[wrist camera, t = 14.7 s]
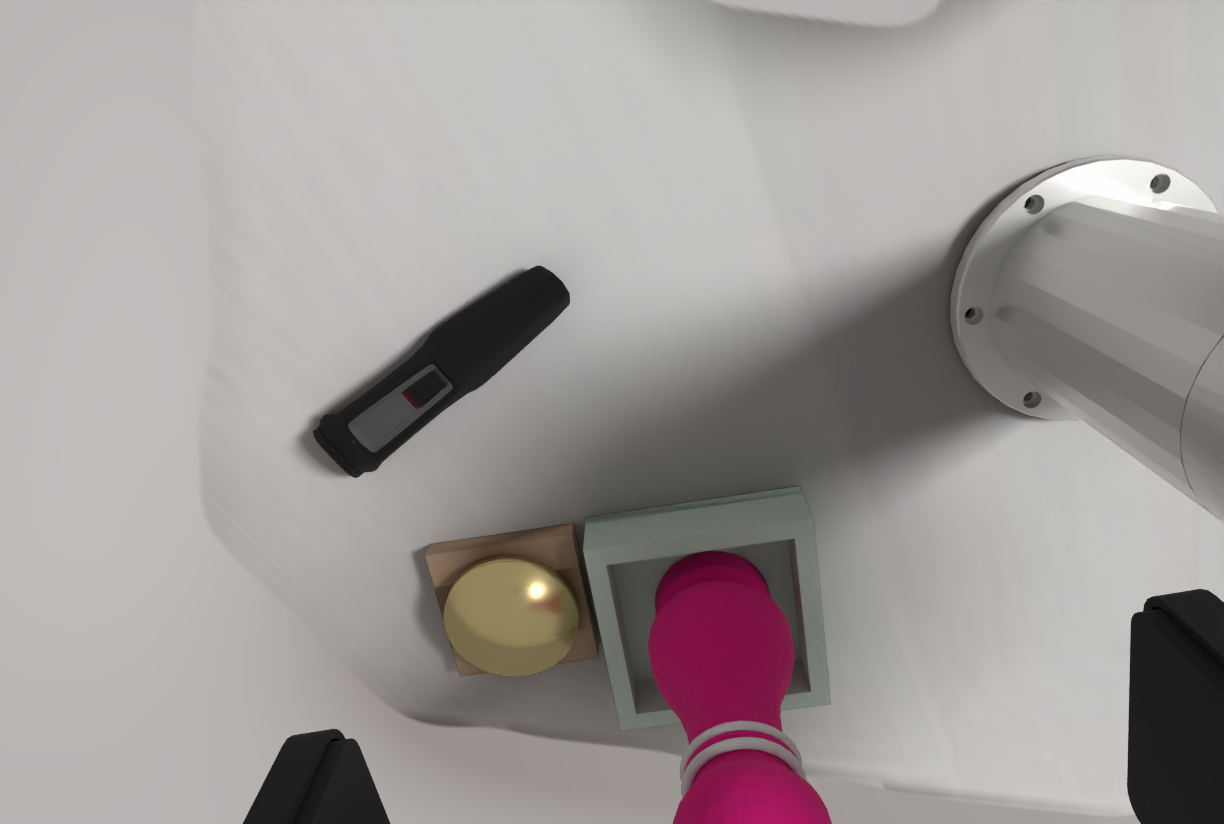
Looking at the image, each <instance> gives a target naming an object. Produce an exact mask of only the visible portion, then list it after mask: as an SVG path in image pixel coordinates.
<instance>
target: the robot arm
mask: <svg viewBox="0 0 1224 824" xmlns="http://www.w3.org/2000/svg"><path fill="white" fill-rule="evenodd" d="M1152 179H1153V183H1152V184H1151V186H1150V183H1151V180H1152ZM1028 198H1030V204H1029V205H1028V206H1027V207H1024V205H1025V202H1026V200H1027V199H1028ZM969 308H971V309H972V310H971V313H970V314H969V315H967V316H965V313H966V311H967V310H968V309H969ZM950 321H951V327H952V332H953V338H954V343H955V345H956V347H957V350H958V352H959V355H960V357H961V359H962V362H963V364H964V365H965V366H966V368H967V369H968V371H969V372H970V373H971V375H972V376H973V378H974V379H975V380H976V381H977V382H978V383H979V384H980V385H981V386H982V387H983V388H984V389H985V390H987V391H988V392H989V393H990V394H991V395H993V396H994V397H995V398H997V399H998V400H1000V401H1001V402H1002V403H1004V404H1005V405H1007V406H1008V407H1010V408H1013V409H1015V410H1017V411H1019V412H1021V413H1024V414H1026V415H1030V416H1035V417H1040V418H1044V419H1049V420H1083V421H1084V422H1086V423H1087V424H1088V425H1090V426H1091V427H1092V428H1094V429H1095V430H1096V431H1098V432H1099V433H1101V434H1102V435H1103V436H1105V437H1106V438H1107V439H1109V440H1110V441H1112V442H1113V443H1114V444H1116V445H1117V446H1118V447H1120V448H1121V449H1123V450H1124V451H1125V452H1127V453H1128V454H1129V455H1131V456H1132V457H1134V458H1135V459H1136V460H1138V461H1139V462H1140V463H1142V464H1143V465H1145V466H1146V467H1147V468H1149V469H1150V470H1151V471H1153V472H1154V473H1155V474H1157V475H1158V476H1160V477H1161V478H1162V479H1164V480H1165V481H1166V482H1168V483H1169V484H1171V485H1172V486H1173V487H1175V488H1176V489H1177V490H1179V491H1180V492H1182V493H1183V494H1184V495H1186V496H1187V497H1188V498H1190V499H1191V500H1193V501H1194V502H1195V503H1197V504H1198V505H1199V506H1201V507H1202V508H1203V509H1205V510H1206V511H1208V512H1209V513H1210V514H1212V515H1213V516H1214V517H1216V518H1217V519H1218V520H1220V521H1221V522H1223V523H1224V214H1220V213H1219V211H1218V209H1217V207H1216V205H1215V204H1214V202H1213V200H1212V199H1211V198H1210V197H1209V196H1208V195H1207V193H1206V192H1205V191H1204V190H1203V189H1202V188H1201V187H1200V186H1199V185H1198V184H1197V183H1196V182H1195V181H1193V180H1192V179H1190V178H1189V177H1187V176H1186V175H1184V174H1183V173H1181V172H1179V171H1178V170H1176V169H1175V168H1172V167H1169V166H1166V165H1163V164H1161V163H1158V162H1155V161H1152V160H1147V159H1141V158H1135V157H1129V156H1097V157H1091V158H1085V159H1079V160H1074V161H1071V162H1068V163H1066V164H1063V165H1060V166H1057V167H1054V168H1052V169H1049V170H1047V171H1045V172H1043V173H1041V174H1040V175H1038V176H1036V177H1034V178H1033V179H1031V180H1029V181H1027V182H1025V183H1024V184H1022V185H1021V186H1020V187H1018V188H1017V189H1016V190H1015V191H1013V192H1012V193H1011V194H1010V195H1008V196H1007V197H1006V198H1005V199H1003V200H1002V201H1001V202H1000V203H999V204H998V205H997V206H996V207H995V208H994V210H993V211H992V212H991V213H990V214H989V215H988V216H987V217H986V219H985V220H984V221H983V222H982V223H981V224H980V226H979V228H978V229H977V231H976V232H975V234H974V235H973V237H972V239H971V240H970V242H969V243H968V245H967V246H966V249H965V251H964V254H963V256H962V258H961V261H960V263H959V265H958V268H957V270H956V274H955V279H954V283H953V288H952V292H951V308H950ZM1027 393H1028V395H1027V396H1026V397H1024V396H1025V395H1026V394H1027ZM1127 787H1128V795H1129V799H1130V802H1131V805H1132V808H1133V810H1134V812H1135V814H1136V816H1137V818H1138V820H1139V821H1140V823H1141V824H1224V602H1223V601H1221V600H1220V599H1219V598H1218V597H1217V596H1216V595H1214V594H1212V593H1211V592H1209V591H1208V590H1203V589H1197V590H1191V591H1185V592H1179V593H1173V594H1166V595H1160V596H1154V597H1151V598H1149V599H1147V601H1146V602H1145V604H1144V610H1143V612H1138V613H1135V614H1134V615H1133V617H1132V620H1131V642H1130V688H1129V733H1128V778H1127ZM243 824H390V822H389V819H388V817H387V814H386V812H385V809H384V807H383V804H382V802H381V799H380V797H379V794H378V792H377V789H376V787H375V784H374V782H373V779H372V777H371V774H370V772H369V769H368V767H367V764H366V762H365V759H364V757H363V754H362V752H361V749H360V747H359V745H358V743H357V742H356V741H355V740H354V739H345V737H344V736H343V734H342V733H341V732H340V731H339V730H337V729H330V730H324V731H317V732H311V733H305V734H299V735H293V736H291V737H289V738H288V739H287V740H286V741H285V743H284V744H283V746H282V748H281V750H280V752H279V754H278V756H277V758H276V760H275V762H274V764H273V765H272V767H271V770H270V771H269V773H268V775H267V777H266V779H265V781H264V783H263V785H262V787H261V789H260V791H259V793H258V795H257V797H256V799H255V801H254V803H253V805H252V807H251V808H250V810H249V812H248V814H247V817H246V819H245V820H244V822H243Z"/></svg>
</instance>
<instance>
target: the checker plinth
mask: <svg viewBox="0 0 1224 824" xmlns="http://www.w3.org/2000/svg"><path fill="white" fill-rule="evenodd" d="M505 555H513V556H523V557H527V558H531V559H535V560H537V561H540V562H542V563H544V564H546V565H548V566H550V567H551V568H553V569H554V570H555V571H557V572H558V573H559V574H560V575H561V576H562V577H563V578H564V579H565V580H566V581H567V582H568V584H569V585H570V587H571V588H572V590H573V592H574V594H575V596H576V599H577V603H578V609H579V622H578V631H577V635H576V638H575V641H574V643H573V645H572V647H571V649H570V650H569V652H568V653H567V654H566V655H565V656H564V657H563V659H562V660H560V661H559V662H558V663H564V662H571V661H579V660H586V659H594V658H598V653H599V643H598V638H597V634H596V629H595V624H594V619H593V615H592V610H591V605H590V601H589V596H588V591H587V586H586V582H585V577H584V572H583V568H582V563H581V558H580V554H579V549H578V544H577V539H576V535H575V530H574V525H573V523H572V524H565V525H559V526H552V527H545V528H538V529H531V530H524V531H517V532H511V533H504V534H497V535H490V536H483V537H476V538H469V539H463V540H456V541H449V542H442V543H435V544H430V545H429V547H428V550H427V552H426V554H425V558H426V561H427V565H428V568H429V572H430V575H431V578H432V582H433V585H434V589H435V592H436V596H437V599H438V603H439V606H440V610H441V613H442V617H443V620H444V608H445V604H446V601H447V598H448V595H449V592H450V590H451V587H452V585H453V584H454V582H455V581H456V579H457V578H458V577H459V576H460V575H461V574H462V573H463V572H464V571H465V570H466V569H467V568H469V567H471V566H472V565H474V564H475V563H478V562H480V561H482V560H485V559H488V558H491V557H496V556H505ZM449 641H450V640H449ZM450 644H451V642H450ZM451 648H452V651H453V655H454V658H455V662H456V665H457V668H458V672H459V675H460V676H467V675H474V674H482V673H489V672H486V671H483V670H481V669H479V668H477V667H475V666H474V665H472V664H471V663H469V662H468V661H466V660H465V659H464V658H463V657H462V656H461V655H460V654H459V653H458V652H457V651H456V650H455V648H454V647H453V646H452V644H451Z"/></svg>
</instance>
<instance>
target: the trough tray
mask: <svg viewBox="0 0 1224 824" xmlns="http://www.w3.org/2000/svg"><path fill="white" fill-rule="evenodd" d="M705 551H722V552H727V553H732V554H735V555H738V556H740V557H742V558H744V559H746V560H748V561H749V562H751V563H752V564H753V565H754V566H755V567H756V568H758V570H759V571H760V573H761V574H762V575H763V577H764V578H765V580H766V583H767V586H768V588H769V592H770V596H771V599H772V600H773V601H774V602H775V603H776V605H777V606H778V607H779V608H780V609H781V611H782V612H783V614H784V616H785V618H786V620H787V622H788V624H789V627H790V630H791V634H792V640H793V646H794V664H793V671H792V677H791V682H790V685H789V687H788V689H787V692H786V694H785V697H784V699H783V701H782V704H781V710H780V711H782V710H789V709H797V708H805V707H813V706H821V705H829V704H831V698H830V687H829V677H828V666H827V656H826V645H825V635H824V624H823V614H822V603H821V592H820V582H819V571H818V561H817V550H816V540H815V529H814V519H813V516H812V514H811V511H810V509H809V507H808V504H807V502H806V500H805V498H804V495H803V493H802V491H801V489H800V486H797V487H790V488H783V489H777V490H770V491H763V492H756V493H749V494H742V495H735V496H729V497H722V498H715V499H708V500H701V501H694V502H688V503H681V504H674V505H667V506H660V507H653V508H647V509H640V510H633V511H626V512H619V513H612V514H605V515H599V516H592V517H586V522H585V534H584V546H583V553H584V558H585V563H586V567H587V572H588V577H589V582H590V586H591V591H592V596H593V601H594V605H595V610H596V615H597V620H598V624H599V629H600V634H601V639H602V643H603V648H604V653H605V658H606V662H607V667H608V672H609V677H610V682H611V686H612V691H613V696H614V701H615V705H616V710H617V715H618V720H619V724H620V729H621V731H624V730H632V729H640V728H648V727H656V726H663V725H671V724H679V723H682V722H681V721H680V719H679V718H678V716H677V715H676V714H675V713H674V711H673V710H672V709H671V708H670V706H669V705H668V704H667V702H666V701H665V700H664V698H663V697H662V695H661V693H660V691H659V689H658V687H657V685H656V682H655V680H654V677H653V674H652V671H651V665H650V659H649V652H648V639H649V634H650V629H651V627H652V624H653V622H654V619H655V617H656V610H655V595H656V591H657V587H658V585H659V582H660V580H661V579H662V577H663V576H664V574H665V573H666V572H667V571H668V570H669V569H670V568H671V567H672V566H673V565H674V564H675V563H677V562H679V561H680V560H682V559H684V558H686V557H687V556H689V555H692V554H696V553H700V552H705Z"/></svg>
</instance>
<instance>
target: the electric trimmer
mask: <svg viewBox="0 0 1224 824" xmlns="http://www.w3.org/2000/svg"><path fill="white" fill-rule="evenodd" d="M569 303H570V294H569V292H568V290H567V289H566V287H565V285H564V283H563V282H562V281H561V280H560V279H559V278H558V277H557V276H556V275H555V274H553V273H552V272H551V271H549V270H547V269H546V268H544V267H542V266H536V267H534V268H531V269H529V270H528V271H526V272H524V273H523V274H521V275H519V276H518V277H516V278H514V279H513V280H511V281H509V282H508V283H506V284H505V285H503V286H501V287H500V288H498V289H497V290H495V291H493V292H492V293H490V294H489V295H487V296H486V297H484V298H482V299H481V300H479V301H478V302H476V303H474V304H473V305H471V306H470V307H468V308H466V309H465V310H463V311H462V312H460V313H458V314H457V315H455V316H454V317H452V318H451V319H449V320H448V321H447V322H445V323H444V324H442V325H441V326H439V327H438V328H436V329H435V330H434V331H433V332H432V333H431V334H430V336H429V337H428V339H427V340H426V342H425V343H424V345H423V346H422V347H421V348H420V349H419V350H418V351H417V352H416V353H415V354H414V355H413V356H412V357H411V358H410V359H409V360H408V361H406V362H405V363H404V364H402V365H401V366H400V367H399V368H397V369H396V370H395V371H393V372H392V373H391V374H390V375H388V376H387V377H386V378H384V379H383V380H382V381H381V382H379V383H378V384H377V385H375V386H374V387H373V388H372V389H370V390H369V391H368V392H366V393H365V394H364V395H362V396H361V397H360V398H358V399H357V400H355V401H354V402H353V403H351V404H350V405H349V406H347V407H346V408H344V409H343V410H341V411H340V412H338V413H336V414H330V415H325V416H324V417H323V418H322V419H321V421H320V427H318V428H317V429H315V430H314V431H313V434H314V437H315V439H316V440H317V442H318V443H319V444H320V446H321V447H322V448H323V449H324V450H325V451H326V452H327V453H328V455H329V456H330V457H331V458H332V459H333V460H334V461H335V462H336V463H337V464H338V465H339V466H340V467H341V468H342V469H343V470H344V471H346V472H347V473H348V474H349V475H350V476H352V477H354V478H357V477H359V476H360V475H362V474H363V473H364V472H372V471H375V470H376V469H378V467H379V466H380V464H381V463H382V462H383V461H384V460H385V459H386V458H387V457H389V456H390V455H391V454H392V453H393V452H395V451H396V450H397V449H398V448H399V447H400V446H402V445H403V444H404V443H405V442H406V441H407V440H409V439H410V438H411V437H412V436H413V435H414V434H416V433H417V432H418V431H419V430H421V429H422V428H423V427H424V426H425V425H427V424H428V423H429V422H430V421H431V420H433V419H434V418H435V417H436V416H438V415H439V414H440V413H441V412H442V411H444V410H445V409H446V408H448V407H449V406H450V405H452V404H453V403H455V402H456V401H457V400H459V399H460V398H462V397H463V396H465V395H466V394H467V393H469V392H472V391H474V390H476V389H478V388H479V387H480V386H482V385H483V384H484V383H486V382H487V381H488V380H489V379H490V378H491V377H492V376H494V375H495V374H496V373H497V372H498V371H499V370H500V369H501V368H503V367H504V366H505V365H506V364H507V363H508V362H509V361H510V360H511V359H512V358H514V357H515V356H516V355H517V354H518V353H519V352H520V351H521V350H522V349H523V348H524V347H526V346H527V345H528V344H529V343H530V342H531V341H532V340H533V339H534V338H535V337H537V336H538V335H539V334H540V333H541V332H542V331H543V330H544V329H545V328H546V327H547V326H549V325H550V324H551V323H552V322H553V321H554V320H555V319H556V318H557V317H558V316H559V315H560V314H561V313H562V312H563V311H564V309H565V308H566V307H567V306H568V305H569Z"/></svg>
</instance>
